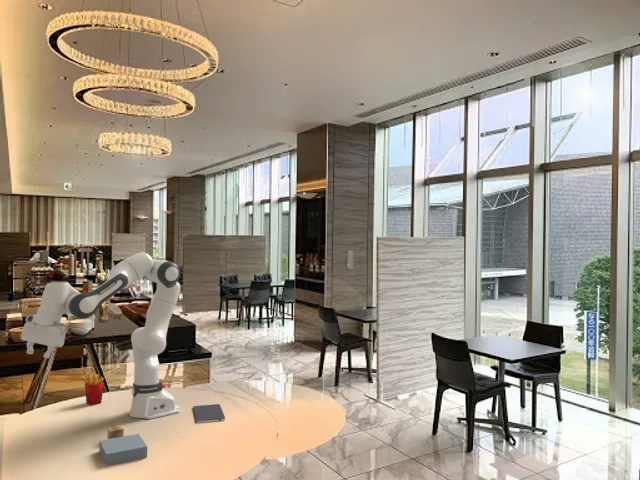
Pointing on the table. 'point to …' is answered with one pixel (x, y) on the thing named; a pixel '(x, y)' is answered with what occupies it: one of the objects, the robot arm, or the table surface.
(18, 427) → the table surface
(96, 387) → the french fries
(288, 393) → the table surface
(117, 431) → the walnut cube
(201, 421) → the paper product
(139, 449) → the slate plinth
